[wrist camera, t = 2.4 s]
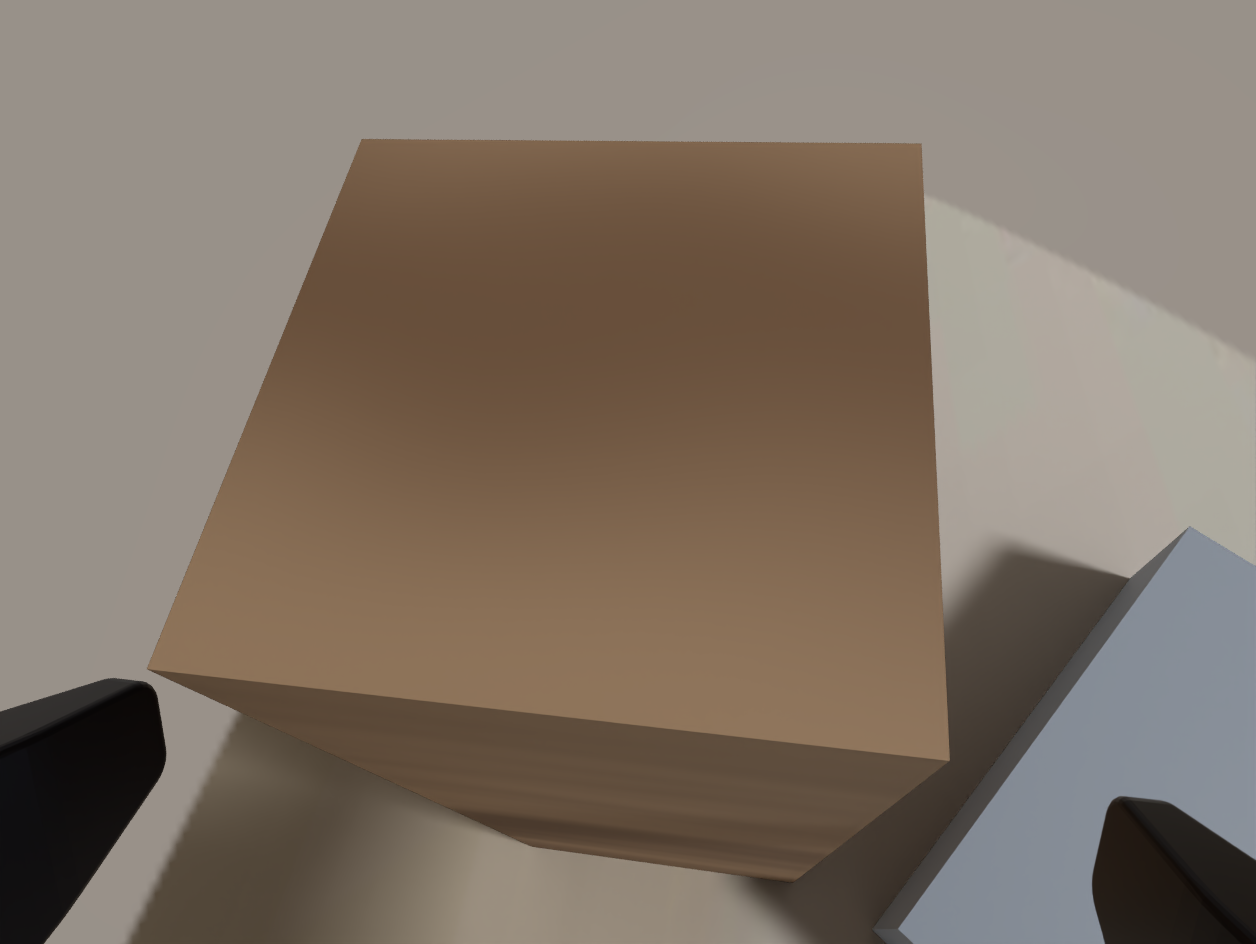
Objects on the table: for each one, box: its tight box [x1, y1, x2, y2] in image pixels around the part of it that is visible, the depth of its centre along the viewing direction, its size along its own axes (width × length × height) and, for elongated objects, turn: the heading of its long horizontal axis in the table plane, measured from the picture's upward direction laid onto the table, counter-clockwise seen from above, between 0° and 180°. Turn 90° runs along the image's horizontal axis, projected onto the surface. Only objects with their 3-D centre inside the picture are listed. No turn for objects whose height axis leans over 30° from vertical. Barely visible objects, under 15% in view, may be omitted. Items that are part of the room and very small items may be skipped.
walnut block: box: [147, 139, 950, 883], centre depth 12 cm, size 5×5×12 cm
